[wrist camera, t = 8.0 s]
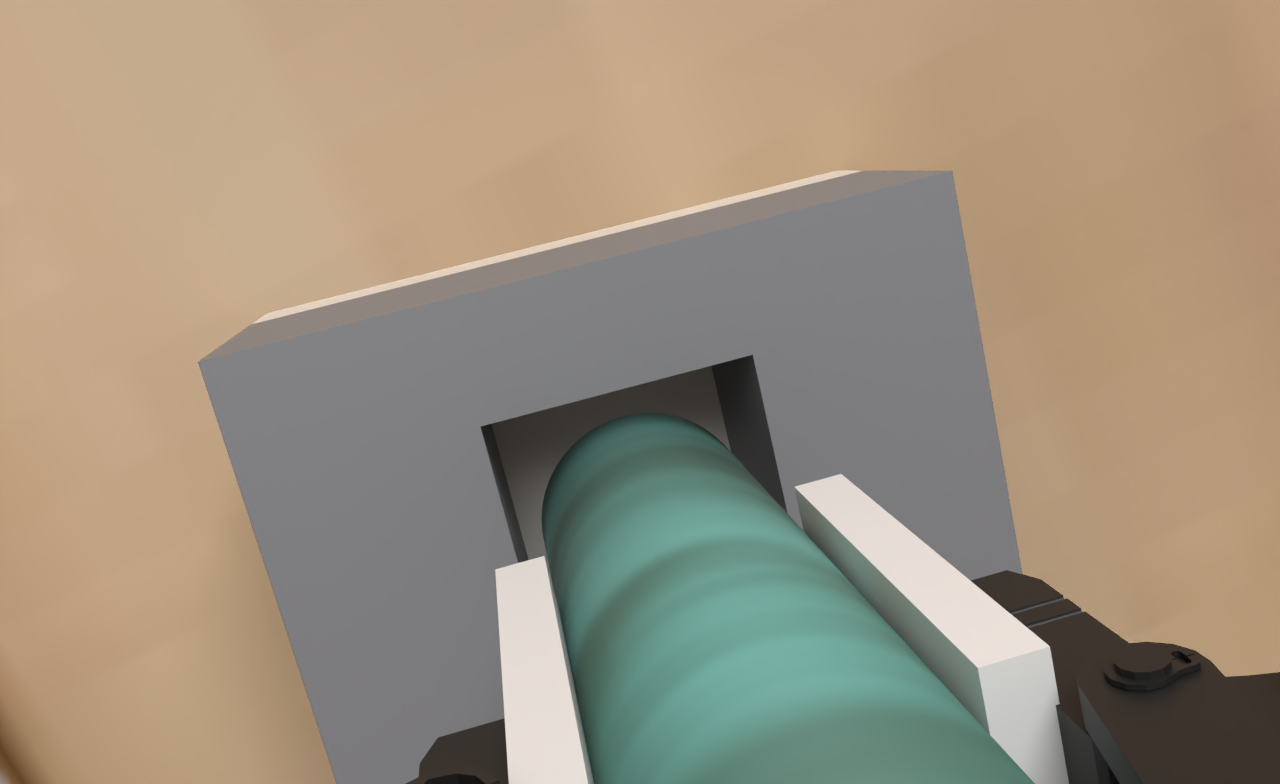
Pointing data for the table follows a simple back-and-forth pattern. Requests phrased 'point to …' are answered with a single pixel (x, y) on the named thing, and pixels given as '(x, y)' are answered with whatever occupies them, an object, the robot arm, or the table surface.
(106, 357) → the table surface
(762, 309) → the hole block
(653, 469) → the pin
